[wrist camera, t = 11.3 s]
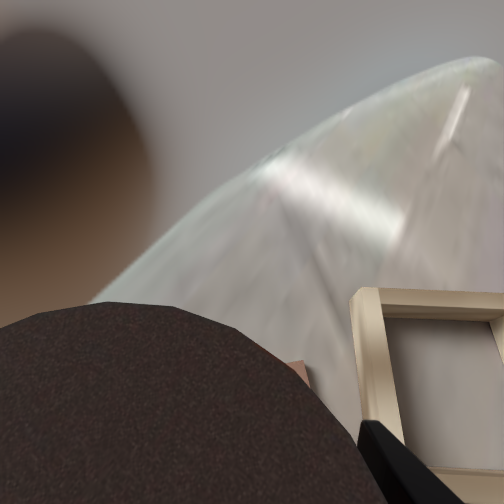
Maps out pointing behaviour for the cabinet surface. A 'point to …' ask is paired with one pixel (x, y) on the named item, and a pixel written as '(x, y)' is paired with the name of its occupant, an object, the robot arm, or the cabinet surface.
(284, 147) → the cabinet surface
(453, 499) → the robot arm
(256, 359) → the deodorant
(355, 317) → the beige square frame
